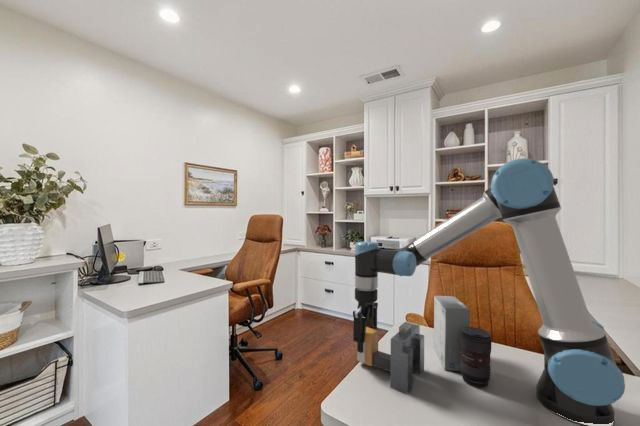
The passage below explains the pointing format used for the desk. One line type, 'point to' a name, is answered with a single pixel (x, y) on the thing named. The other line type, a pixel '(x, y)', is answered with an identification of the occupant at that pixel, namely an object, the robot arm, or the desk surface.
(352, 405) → the desk surface
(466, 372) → the camera lens
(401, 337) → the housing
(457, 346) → the hard drive box
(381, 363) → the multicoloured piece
